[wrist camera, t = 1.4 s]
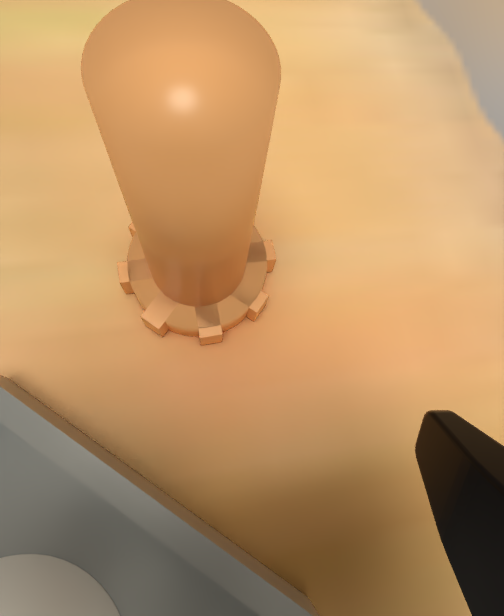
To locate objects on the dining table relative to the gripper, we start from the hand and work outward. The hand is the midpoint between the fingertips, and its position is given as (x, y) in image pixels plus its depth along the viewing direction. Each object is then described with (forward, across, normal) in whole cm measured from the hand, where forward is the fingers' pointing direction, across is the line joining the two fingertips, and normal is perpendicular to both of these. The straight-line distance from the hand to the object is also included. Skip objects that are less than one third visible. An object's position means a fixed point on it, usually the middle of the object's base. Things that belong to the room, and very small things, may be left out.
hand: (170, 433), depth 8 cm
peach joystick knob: (+15, 0, +4) cm, 15 cm away
